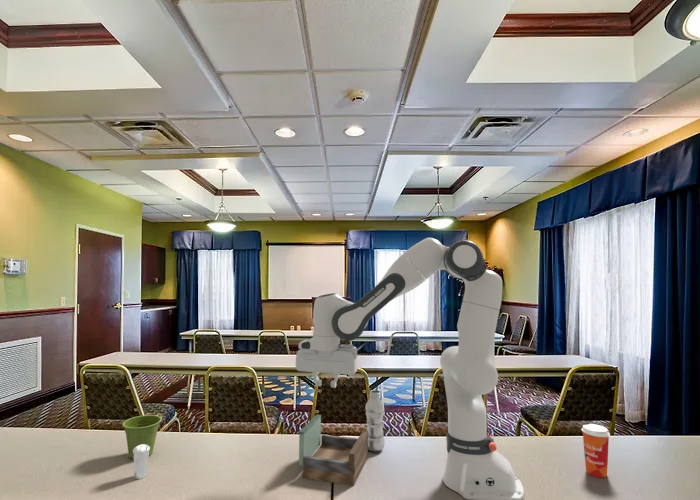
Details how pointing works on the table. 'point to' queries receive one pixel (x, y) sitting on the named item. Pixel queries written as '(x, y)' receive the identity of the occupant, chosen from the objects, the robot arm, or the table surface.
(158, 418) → the plant pot
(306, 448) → the panel
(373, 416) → the plastic bottle
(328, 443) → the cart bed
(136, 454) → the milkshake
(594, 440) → the paper cup
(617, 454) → the table surface
